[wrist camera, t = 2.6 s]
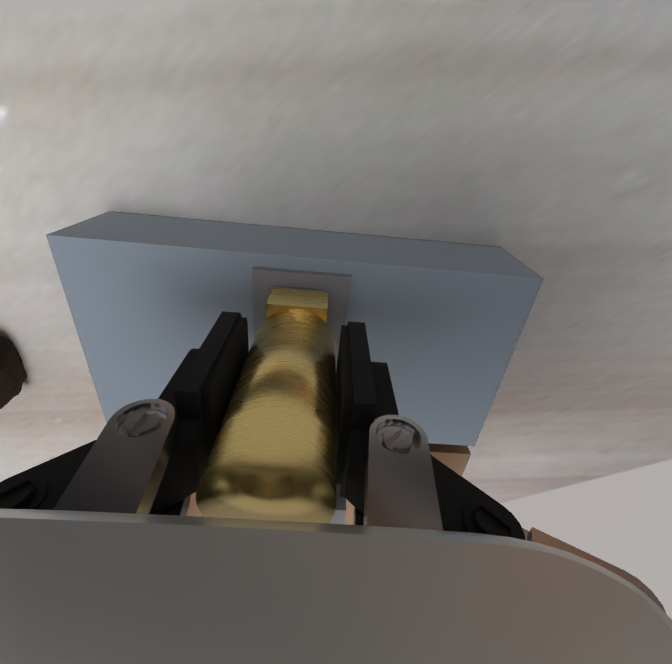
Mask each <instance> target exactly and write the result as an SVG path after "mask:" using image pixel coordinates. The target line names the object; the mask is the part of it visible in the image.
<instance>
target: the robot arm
mask: <svg viewBox="0 0 672 664" xmlns="http://www.w3.org/2000/svg"><path fill="white" fill-rule="evenodd" d="M248 353H249V344H248V321H247V318H246V317H242V315H241V313H238V312H226V311H222V313H221V314H220V316H219V317H218V319H217V321H216V322H215V324H214V326H213V327H212V329H211V330H210V332H209V334H208V335H207V337H206V339H205V340H204V342H203V343H202V345H201V347H200V348H199V349H195V348H193V349H191V350H190V351H189V352H188V354H187V355H186V357H185V358H184V360H183V361H182V363H181V364H180V366H179V367H178V369H177V370H176V372H175V373H174V375H173V376H172V378H171V379H170V381H169V383H168V384H167V386H166V387H165V389H164V390H163V392H162V393H161V395H160V396H159V398H158V399H143V400H139V401H136V402H132V403H130V404H128V405H126V406H124V407H122V408H121V409H119V410H118V411H117V412H115V413H114V415H113V416H112V417H111V418H110V419H109V421H108V422H107V424H106V426H105V427H104V429H103V430H102V432H101V434H100V435H99V437H98V438H97V440H95V441H92V442H90V443H88V444H86V445H83V446H81V447H79V448H76V449H74V450H72V451H70V452H67V453H65V454H63V455H60V456H58V457H56V458H53V459H51V460H49V461H47V462H44V463H42V464H40V465H37V466H35V467H33V468H31V469H28V470H26V471H24V472H21V473H19V474H17V475H14V476H12V477H10V478H8V479H6V480H4V481H2V482H0V664H672V620H671V618H670V617H669V616H668V615H667V614H666V612H665V609H664V607H663V605H662V604H661V602H660V601H659V600H658V598H657V597H656V596H655V595H654V593H653V592H652V591H651V590H650V589H649V588H648V587H647V586H646V585H645V584H643V583H642V582H641V581H640V580H639V579H638V578H636V577H634V576H633V575H631V574H629V573H628V572H626V571H624V570H622V569H620V568H618V567H616V566H614V565H611V564H609V563H607V562H605V561H603V560H601V559H599V558H597V557H595V556H593V555H590V554H588V553H586V552H584V551H582V550H580V549H578V548H576V547H574V546H571V545H569V544H567V543H565V542H563V541H561V540H559V539H557V538H554V537H552V536H550V535H548V534H546V533H544V532H542V531H539V530H537V529H535V528H533V527H532V528H531V530H530V531H528V530H525V529H523V528H522V527H521V525H520V523H519V522H518V521H517V519H516V518H515V517H514V516H513V515H512V513H511V512H509V511H508V510H507V509H506V508H505V507H504V506H502V505H501V504H500V503H498V502H497V501H495V500H494V499H493V498H491V497H490V496H488V495H487V494H485V493H484V492H483V491H481V490H480V489H478V488H477V487H476V486H474V485H473V484H471V483H470V482H469V481H467V480H466V479H464V478H463V477H462V476H460V475H459V474H457V473H456V472H454V471H453V470H452V469H450V468H449V467H447V466H446V465H445V464H443V463H442V462H440V461H439V460H438V459H436V458H435V457H433V456H432V455H431V454H430V449H429V443H428V439H427V436H426V433H425V432H424V430H423V429H422V428H421V426H419V425H418V424H417V423H416V422H414V421H413V420H411V419H409V418H406V417H403V416H399V414H398V409H397V405H396V400H395V396H394V391H393V387H392V382H391V378H390V373H389V369H388V365H387V363H384V362H371V358H370V352H369V345H368V339H367V332H366V326H365V323H364V322H352V321H348V324H347V325H341V332H340V341H339V350H338V359H337V367H336V484H340V497H345V498H346V499H347V500H348V501H349V502H350V503H351V504H352V505H353V506H354V507H355V508H354V517H353V525H346V524H329V523H311V522H292V521H273V520H254V519H235V518H215V517H195V516H187V512H188V508H189V505H190V498H191V494H193V493H195V492H196V489H197V486H198V483H199V481H200V478H201V476H202V473H203V470H204V468H205V465H206V463H207V460H208V457H209V455H210V452H211V450H212V447H213V444H214V442H215V439H216V437H217V434H218V431H219V429H220V426H221V424H222V421H223V418H224V416H225V413H226V411H227V408H228V405H229V403H230V400H231V398H232V395H233V392H234V390H235V387H236V385H237V382H238V379H239V377H240V374H241V372H242V369H243V366H244V364H245V361H246V358H247V356H248Z"/></svg>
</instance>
